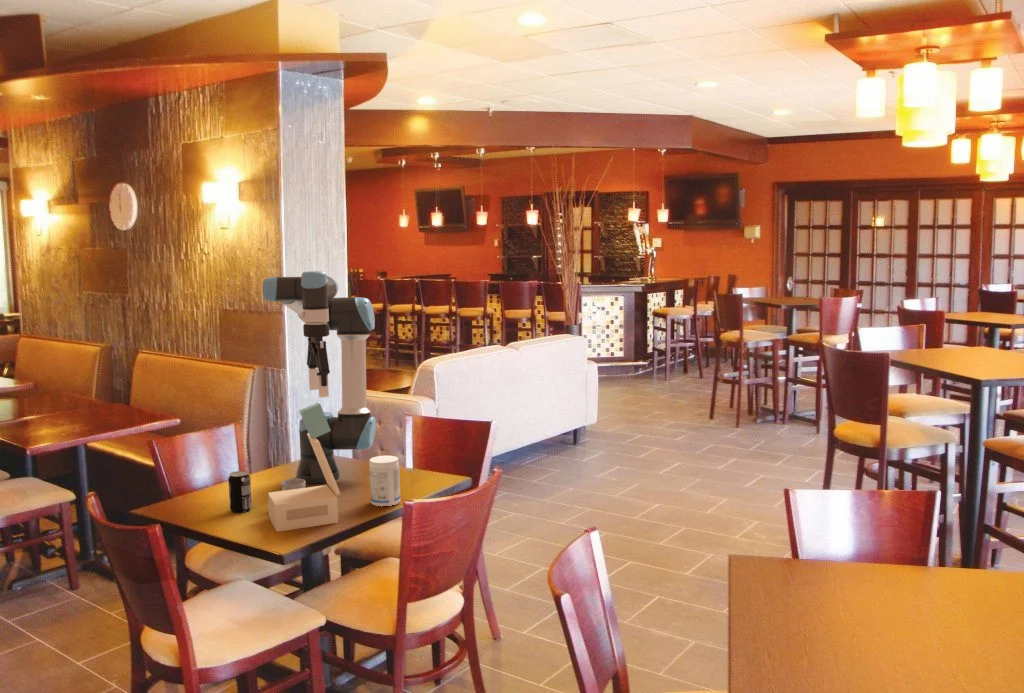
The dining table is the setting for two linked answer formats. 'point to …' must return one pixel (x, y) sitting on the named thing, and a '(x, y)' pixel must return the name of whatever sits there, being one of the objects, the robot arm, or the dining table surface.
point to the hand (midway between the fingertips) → (318, 393)
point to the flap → (317, 427)
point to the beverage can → (240, 491)
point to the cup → (292, 484)
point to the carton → (302, 508)
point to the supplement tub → (384, 480)
